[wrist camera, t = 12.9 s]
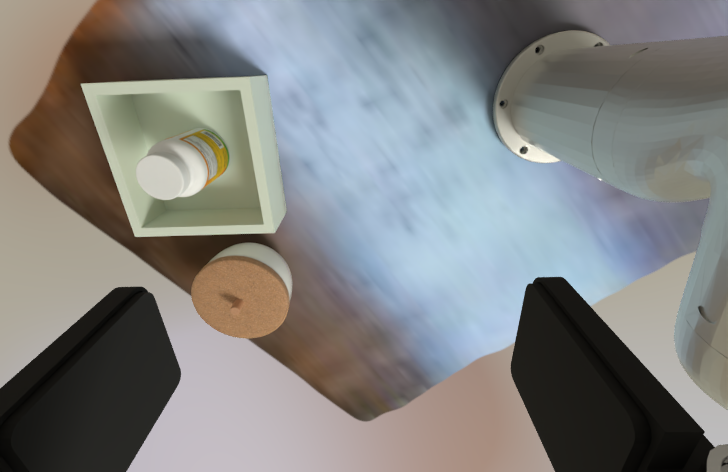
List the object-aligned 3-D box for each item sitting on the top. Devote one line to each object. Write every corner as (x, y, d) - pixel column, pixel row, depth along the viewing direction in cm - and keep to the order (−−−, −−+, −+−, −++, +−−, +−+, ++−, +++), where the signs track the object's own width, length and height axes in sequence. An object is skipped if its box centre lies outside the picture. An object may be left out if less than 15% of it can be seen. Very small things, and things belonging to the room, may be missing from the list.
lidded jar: (274, 312, 49) (254, 363, 41) (203, 272, 46) (167, 318, 38) (316, 258, 45) (303, 303, 37) (242, 212, 43) (210, 249, 34)
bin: (267, 75, 36) (249, 77, 30) (286, 211, 42) (274, 232, 37) (123, 81, 36) (80, 83, 31) (164, 215, 43) (135, 236, 37)
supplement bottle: (186, 175, 40) (134, 206, 31) (177, 126, 37) (118, 144, 28) (234, 177, 40) (196, 209, 31) (228, 128, 37) (185, 148, 29)
